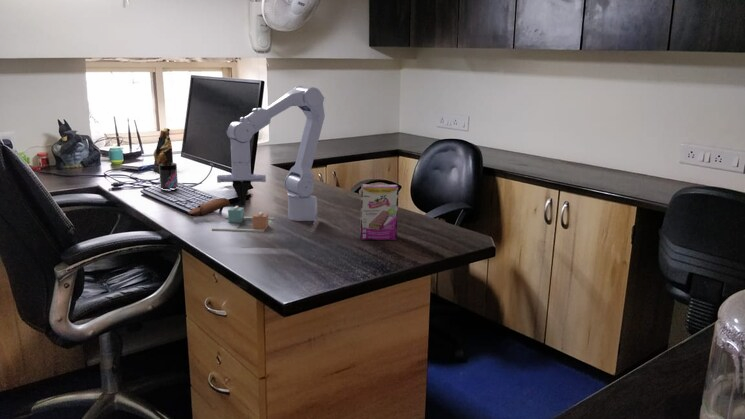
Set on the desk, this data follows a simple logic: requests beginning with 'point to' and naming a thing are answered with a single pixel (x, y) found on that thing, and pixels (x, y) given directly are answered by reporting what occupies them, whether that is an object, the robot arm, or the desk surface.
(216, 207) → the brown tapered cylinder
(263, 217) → the orange block with handle
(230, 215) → the teal handled block
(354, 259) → the desk surface
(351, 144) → the desk surface
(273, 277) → the desk surface
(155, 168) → the statue
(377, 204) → the candy bar box
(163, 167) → the supplement container
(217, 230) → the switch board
